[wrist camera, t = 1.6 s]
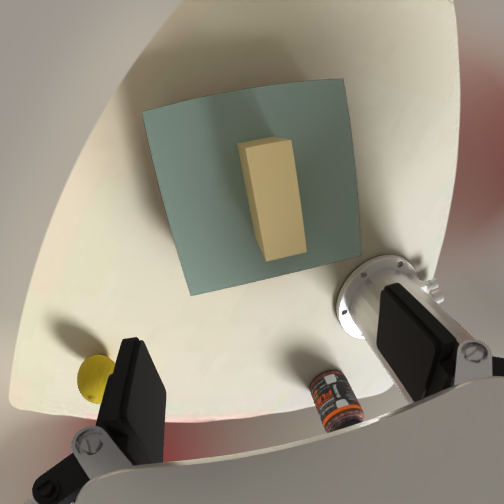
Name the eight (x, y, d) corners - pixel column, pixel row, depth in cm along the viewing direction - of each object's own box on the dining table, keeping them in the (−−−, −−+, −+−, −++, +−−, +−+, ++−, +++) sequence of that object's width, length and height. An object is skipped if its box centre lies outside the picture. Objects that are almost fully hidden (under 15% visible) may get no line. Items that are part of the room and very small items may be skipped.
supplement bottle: (317, 368, 44) (343, 426, 34) (350, 368, 45) (379, 422, 35) (303, 394, 46) (324, 451, 36) (335, 394, 48) (359, 447, 37)
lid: (338, 79, 24) (372, 71, 18) (356, 251, 30) (386, 279, 25) (144, 112, 23) (127, 109, 17) (191, 290, 29) (189, 329, 24)
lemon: (131, 366, 39) (122, 410, 32) (101, 376, 39) (90, 418, 32) (108, 337, 37) (94, 380, 30) (78, 349, 37) (62, 390, 30)
